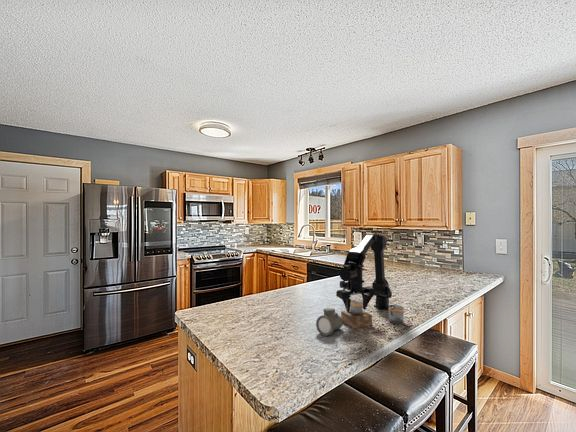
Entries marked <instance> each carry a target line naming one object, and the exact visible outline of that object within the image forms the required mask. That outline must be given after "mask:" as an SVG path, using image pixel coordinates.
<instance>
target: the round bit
mask: <svg viewBox="0 0 576 432" xmlns="http://www.w3.org/2000/svg"><path fill="white" fill-rule="evenodd" d="M404 314H405V308H404V306H402V305H399V304H391V305H390V304H389V309H388V322H389V323H390V324H393V325H398V326H399V325H403V324H404V322H405V321H404V320H405V318H404V317H405V315H404Z"/></svg>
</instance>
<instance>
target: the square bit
mask: <svg viewBox="0 0 576 432" xmlns="http://www.w3.org/2000/svg"><path fill="white" fill-rule="evenodd" d="M363 311H364V309H363V300H362V301H361V300H359V299H353V300H352V299H351V303H350V314H352V315H354V316H359V315H363Z"/></svg>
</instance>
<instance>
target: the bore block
mask: <svg viewBox="0 0 576 432" xmlns="http://www.w3.org/2000/svg"><path fill="white" fill-rule="evenodd" d="M340 317H341V318H342V320H343V323H344V324H346V325H348V326H349V327H351V328H353V329H359V328H363V327H368V326H373V315H372V314H370V313H369V312H366V311H365V310H363V315H359V316H354V315H352V314H350V311H349V313H348V312H347V310H346V309H345V310H341V313H340Z"/></svg>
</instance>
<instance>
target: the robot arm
mask: <svg viewBox="0 0 576 432" xmlns="http://www.w3.org/2000/svg"><path fill="white" fill-rule="evenodd" d="M387 243H388V239H387V238H386V237H385V236H384V235H380V234H377V233H374V232H373V233H372V232H367V233H365V236H364V238H363V239H362V240H361V241H360V242H359V244H358V245H357V246H356V247H353V248H351V249H350V250H349V251H348V253H347V254H346V256H345V260H344V263H343V266H342V267H343V268H342V269H340V270H339V273H338V274H339V278H340V279H341V280H340V281H339V288H340V289H338V290H336V293H335V294H336V295H335V296H336V297H337V298H339V299H341V301H342V302H343V304H344V307H345V311H346V310H347V312H348V313H349V311H350V303H351V300H352V299H351V296H355V295H357V296H358V295H361V297H362V302H363V311H365V310H366V309H367V307H368V305H369V303H370V302H371V300H372V298H374V296H375V304H374V305H373V306H374V308H377V309H379V310H389V305H390V299H392V295H393V292H392V290H391V288H390V286H389V282H388V280H387V278H386V275H385V274H386V273H385V256H384V252H385V250H386V248H387ZM370 249H371V250H372V251H373V254H374V255H373V256H374V257H373V258H374V274H375V279H374V281H372V283H371V284H372V286H363V283H365V280H364V279H363V268H364V267H365V265H364V262H365V260H366V258H367V256H366V253H367V252H368V251H369V250H370Z"/></svg>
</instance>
